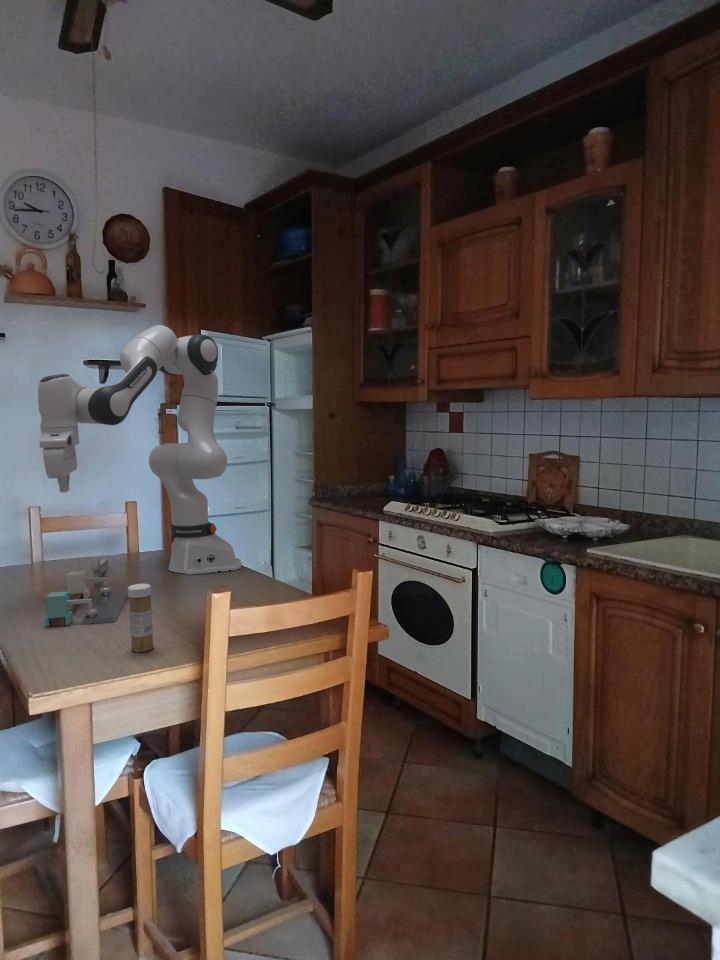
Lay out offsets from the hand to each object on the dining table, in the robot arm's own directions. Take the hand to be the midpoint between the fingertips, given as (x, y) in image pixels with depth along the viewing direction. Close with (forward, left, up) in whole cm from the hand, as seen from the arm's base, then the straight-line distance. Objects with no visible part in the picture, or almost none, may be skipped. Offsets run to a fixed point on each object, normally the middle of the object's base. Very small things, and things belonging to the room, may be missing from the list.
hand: (64, 491), depth 176 cm
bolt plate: (-11, +12, -29) cm, 33 cm away
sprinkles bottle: (-23, +44, -29) cm, 57 cm away
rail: (-2, +12, -29) cm, 31 cm away
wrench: (-4, -23, -29) cm, 37 cm away
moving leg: (-4, +22, -28) cm, 36 cm away
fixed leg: (-4, +1, -28) cm, 29 cm away
